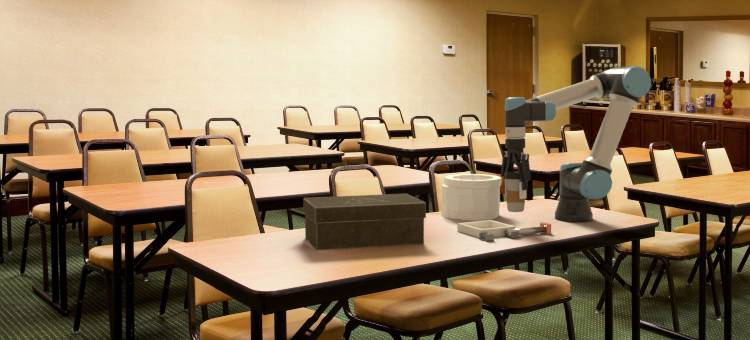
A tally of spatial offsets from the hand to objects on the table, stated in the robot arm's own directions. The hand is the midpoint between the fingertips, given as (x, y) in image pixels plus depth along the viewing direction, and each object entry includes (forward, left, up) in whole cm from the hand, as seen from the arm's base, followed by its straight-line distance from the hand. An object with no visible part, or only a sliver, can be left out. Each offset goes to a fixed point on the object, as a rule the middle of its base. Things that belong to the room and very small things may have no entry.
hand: (515, 196), depth 303 cm
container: (-1, -32, -12) cm, 34 cm away
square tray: (+16, +3, -12) cm, 20 cm away
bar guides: (+18, +14, -12) cm, 25 cm away
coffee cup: (0, 0, -6) cm, 6 cm away
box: (+63, -5, -13) cm, 64 cm away
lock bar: (+6, +14, -12) cm, 19 cm away
